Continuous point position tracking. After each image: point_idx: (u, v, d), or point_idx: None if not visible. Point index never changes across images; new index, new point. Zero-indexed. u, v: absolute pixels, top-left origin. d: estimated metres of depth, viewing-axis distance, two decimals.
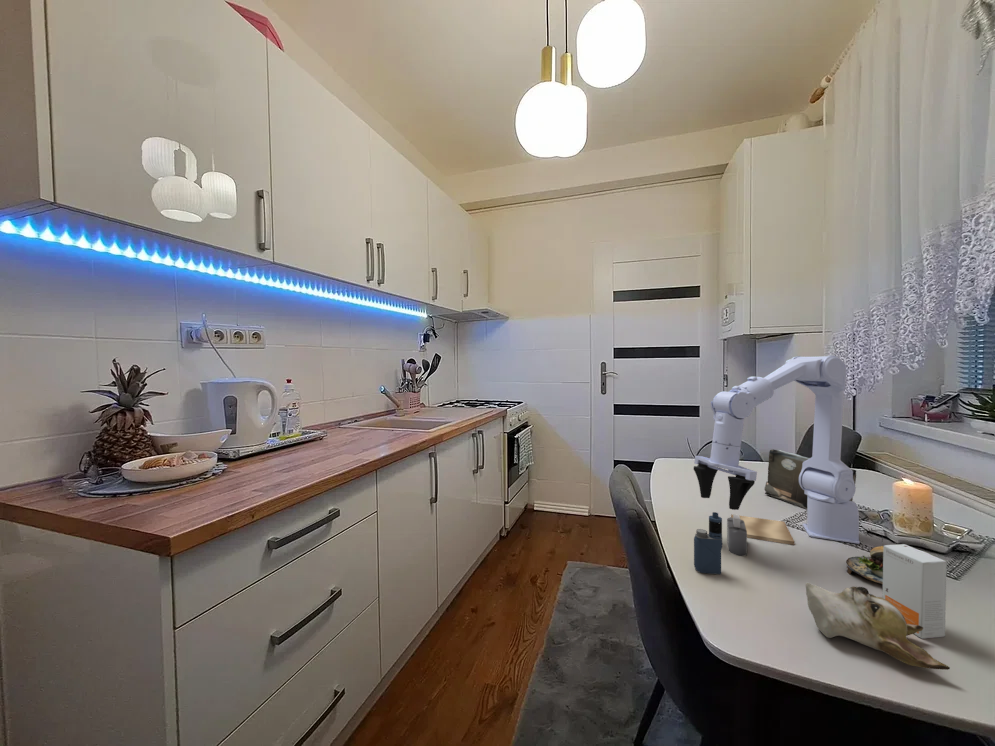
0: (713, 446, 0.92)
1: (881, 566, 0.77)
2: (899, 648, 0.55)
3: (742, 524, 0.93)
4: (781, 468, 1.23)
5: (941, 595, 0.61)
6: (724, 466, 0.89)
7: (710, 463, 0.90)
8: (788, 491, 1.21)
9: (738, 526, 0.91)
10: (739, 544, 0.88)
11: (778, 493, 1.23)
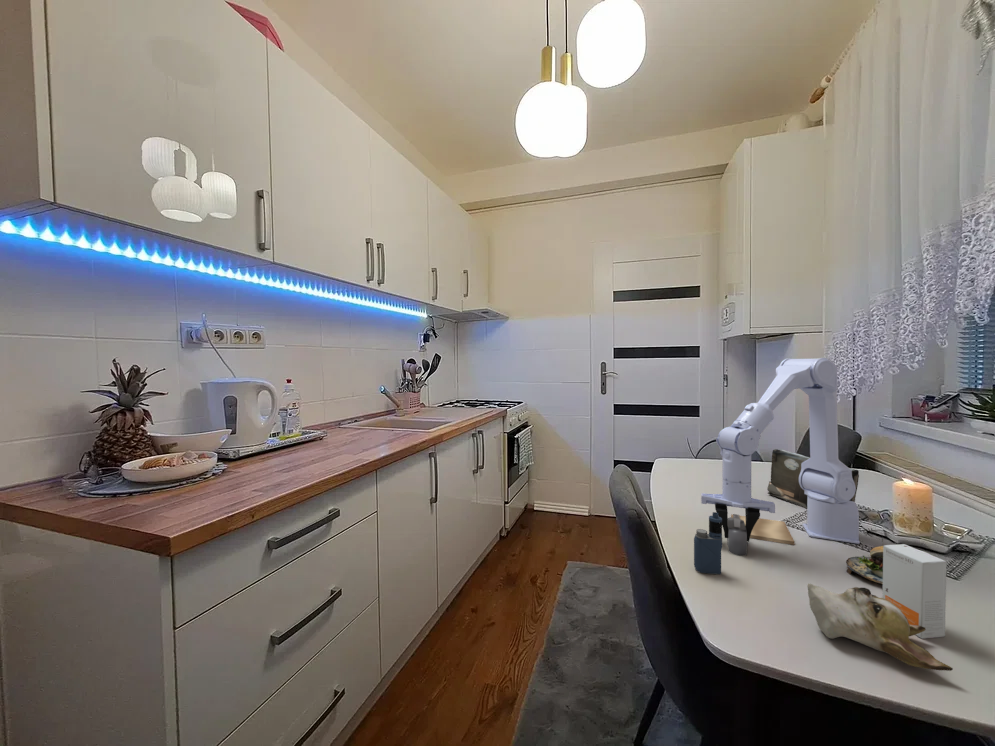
0: (732, 486, 0.90)
1: (881, 566, 0.77)
2: (902, 649, 0.55)
3: (742, 524, 0.93)
4: (784, 468, 1.23)
5: (941, 595, 0.61)
6: (749, 504, 0.89)
7: (737, 505, 0.89)
8: (791, 491, 1.21)
9: (738, 526, 0.91)
10: (739, 543, 0.88)
11: (781, 493, 1.23)
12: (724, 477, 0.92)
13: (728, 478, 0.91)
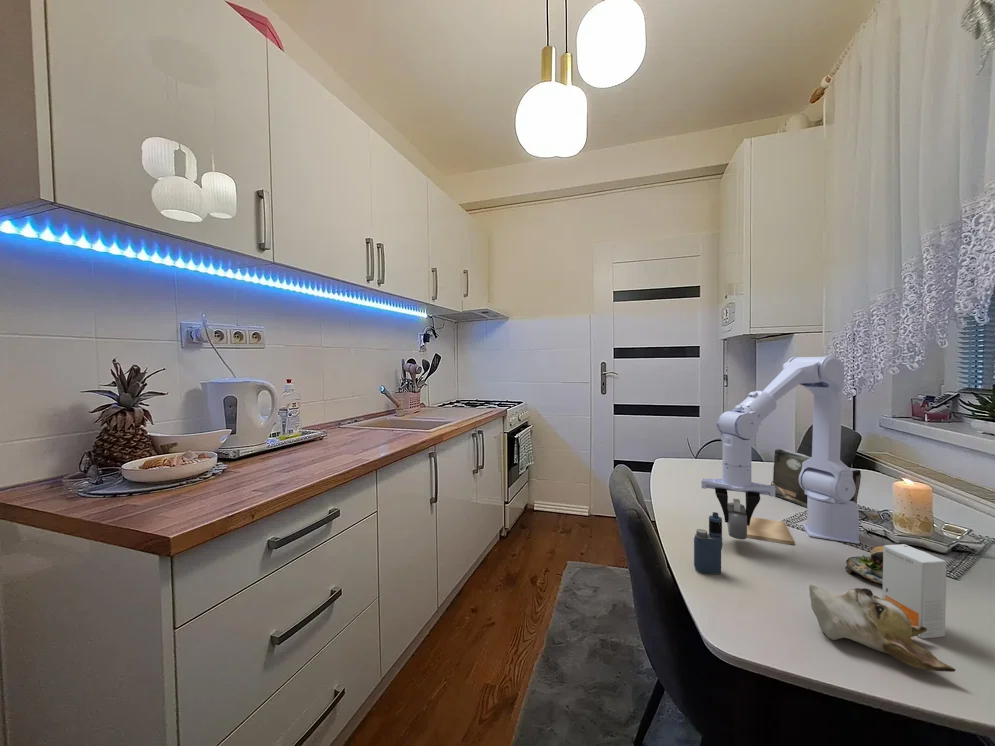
0: (732, 470, 0.90)
1: (881, 566, 0.77)
2: (904, 650, 0.55)
3: (742, 508, 0.93)
4: (787, 468, 1.24)
5: (941, 595, 0.61)
6: (749, 488, 0.89)
7: (737, 489, 0.89)
8: (793, 491, 1.21)
9: (738, 510, 0.91)
10: (739, 527, 0.88)
11: (783, 493, 1.23)
12: (724, 461, 0.92)
13: (728, 462, 0.91)
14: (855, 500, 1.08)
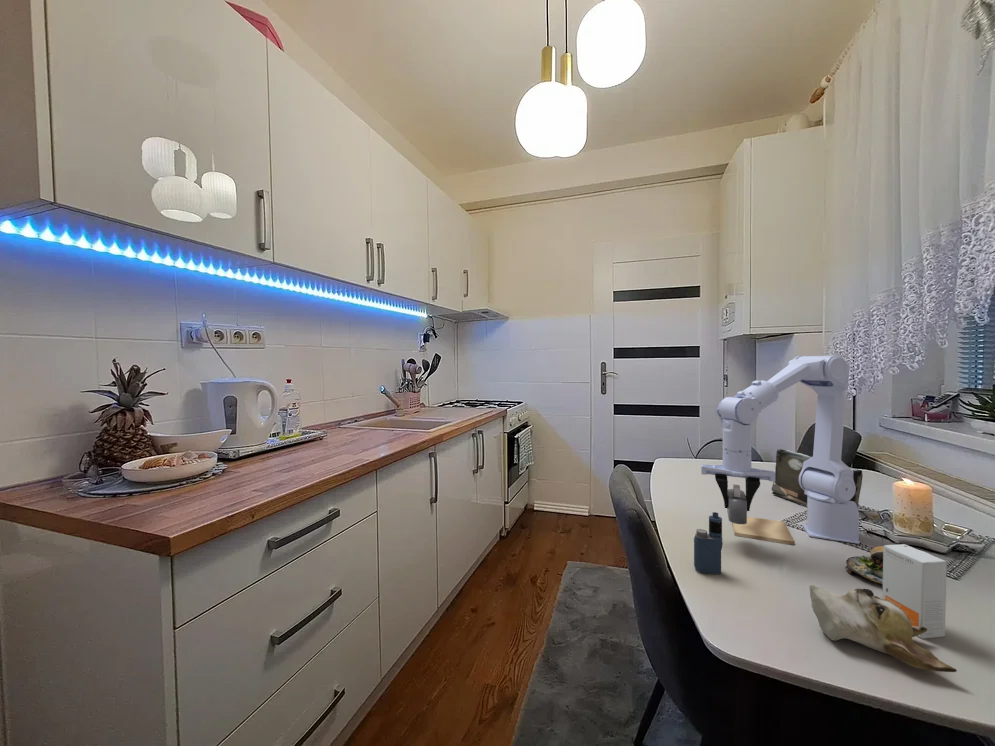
0: (732, 455, 0.90)
1: (881, 566, 0.77)
2: (905, 651, 0.55)
3: (742, 494, 0.93)
4: (788, 468, 1.24)
5: (941, 595, 0.61)
6: (749, 473, 0.89)
7: (737, 474, 0.89)
8: (795, 491, 1.21)
9: (738, 496, 0.91)
10: (739, 512, 0.88)
11: (785, 493, 1.23)
12: (724, 447, 0.92)
13: (728, 447, 0.91)
14: (857, 500, 1.08)
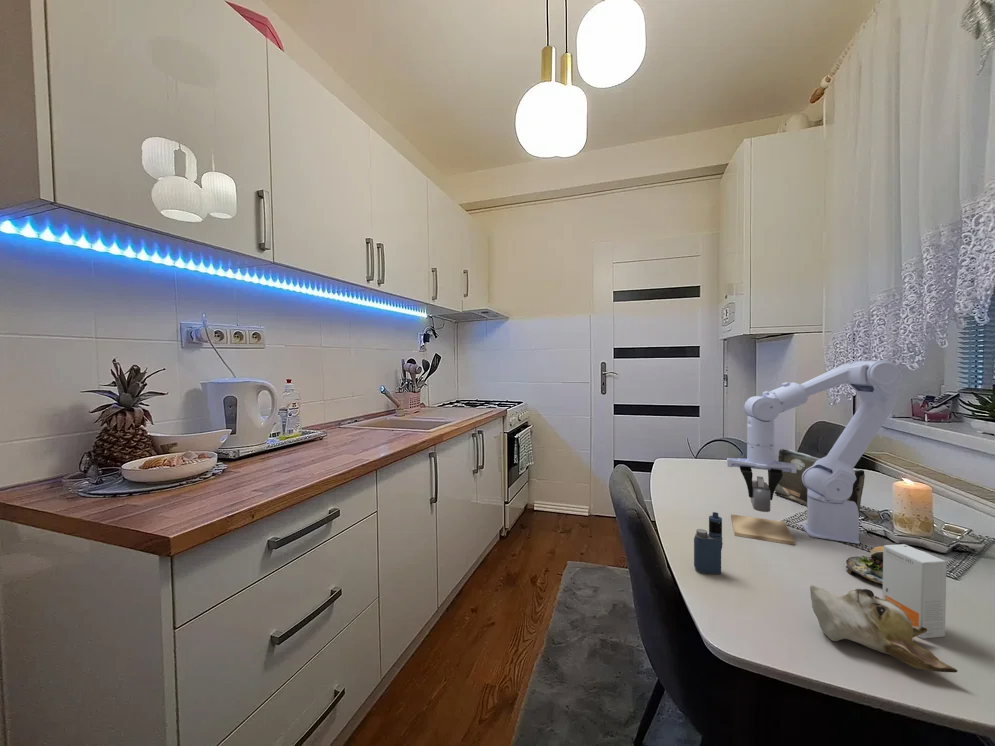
0: (757, 449, 0.99)
1: (881, 566, 0.77)
2: (906, 651, 0.55)
3: (765, 485, 1.01)
4: None
5: (941, 595, 0.61)
6: (772, 465, 0.98)
7: (762, 466, 0.97)
8: (797, 491, 1.21)
9: (762, 486, 1.00)
10: (764, 501, 0.97)
11: (787, 493, 1.23)
12: (747, 441, 1.02)
13: (749, 441, 1.01)
14: (859, 500, 1.08)
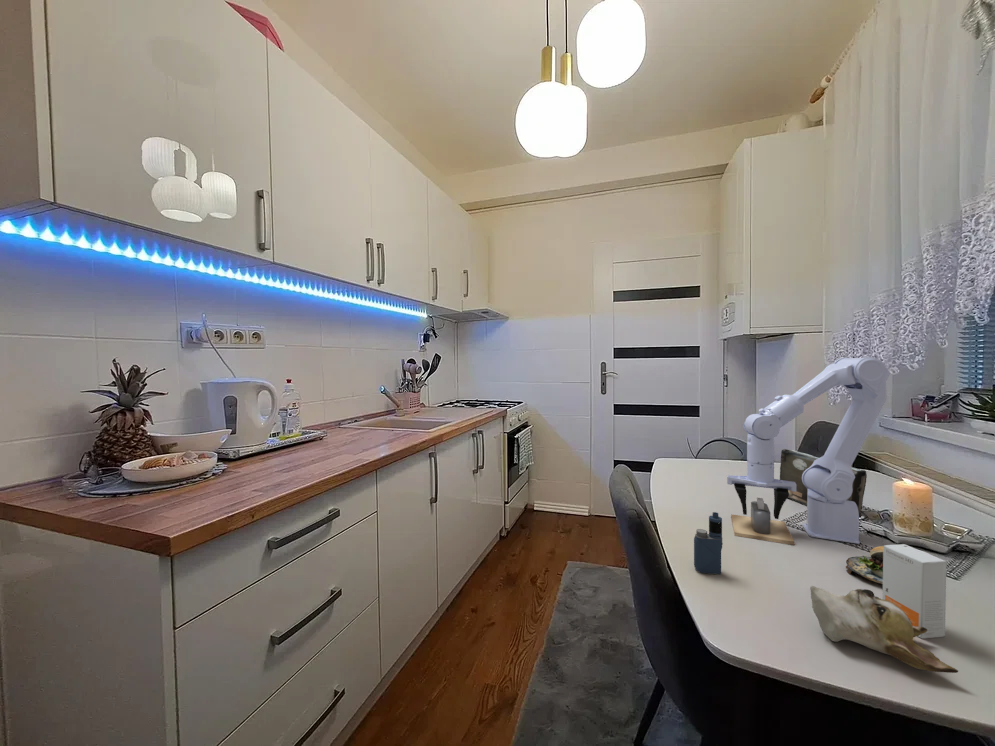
0: (756, 467, 0.99)
1: (881, 566, 0.77)
2: (907, 652, 0.54)
3: (765, 506, 1.02)
4: (793, 468, 1.23)
5: (941, 595, 0.61)
6: (772, 484, 0.98)
7: (762, 484, 0.98)
8: (799, 491, 1.21)
9: (762, 508, 1.00)
10: (763, 523, 0.97)
11: (789, 493, 1.23)
12: (747, 458, 1.02)
13: (749, 459, 1.01)
14: (861, 500, 1.08)
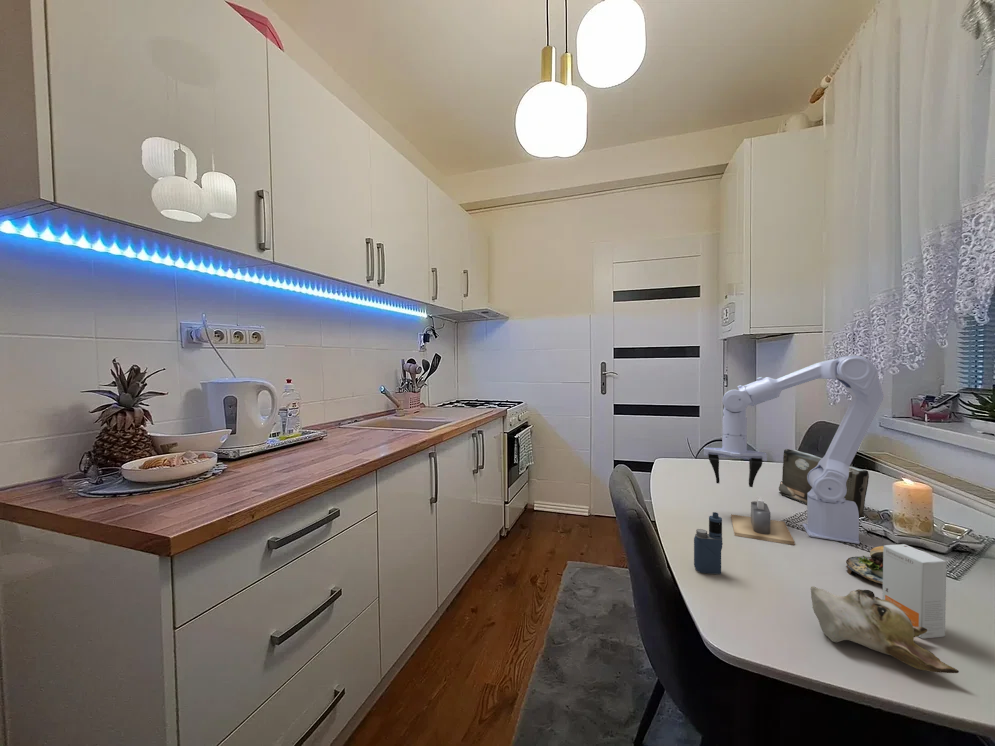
0: (730, 439, 1.06)
1: (881, 566, 0.77)
2: (908, 652, 0.54)
3: (765, 506, 1.02)
4: (795, 468, 1.23)
5: (941, 595, 0.61)
6: (744, 454, 1.05)
7: (735, 454, 1.05)
8: (801, 491, 1.21)
9: (762, 508, 1.00)
10: (763, 523, 0.97)
11: (791, 493, 1.23)
12: None
13: (722, 431, 1.09)
14: (863, 501, 1.08)
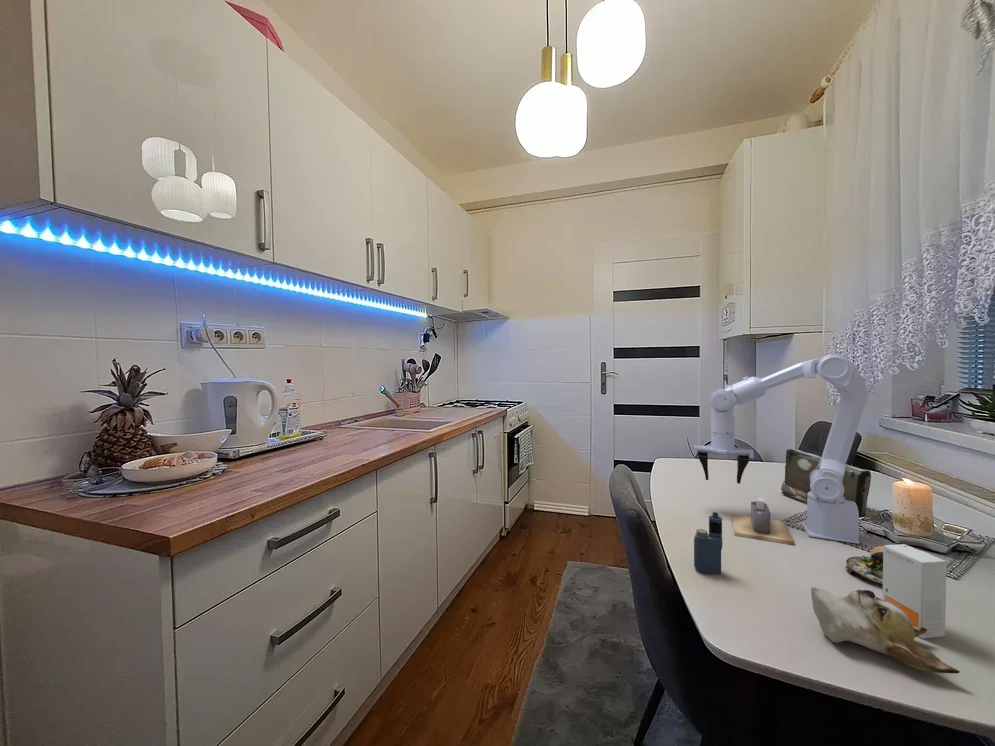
0: (718, 437, 1.10)
1: (881, 566, 0.77)
2: (908, 653, 0.54)
3: (765, 506, 1.02)
4: (798, 468, 1.23)
5: (941, 595, 0.61)
6: (732, 451, 1.09)
7: (722, 451, 1.08)
8: (803, 491, 1.21)
9: (762, 508, 1.00)
10: (763, 523, 0.97)
11: (794, 493, 1.23)
12: None
13: (711, 429, 1.13)
14: (865, 501, 1.08)
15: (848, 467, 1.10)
